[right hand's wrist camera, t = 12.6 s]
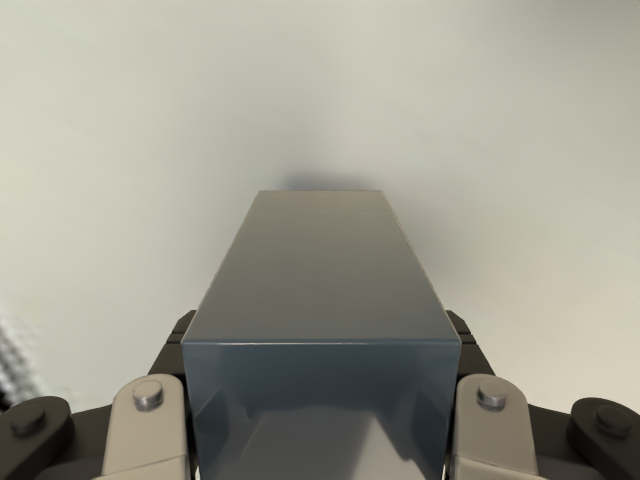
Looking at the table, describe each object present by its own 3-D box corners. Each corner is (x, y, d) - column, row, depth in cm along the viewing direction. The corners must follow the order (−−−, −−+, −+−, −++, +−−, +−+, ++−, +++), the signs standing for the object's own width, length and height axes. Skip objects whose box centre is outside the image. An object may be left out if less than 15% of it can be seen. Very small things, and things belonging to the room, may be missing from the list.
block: (376, 303, 18) (434, 539, 9) (264, 303, 18) (207, 539, 9) (383, 190, 16) (464, 341, 7) (258, 189, 16) (178, 341, 7)
